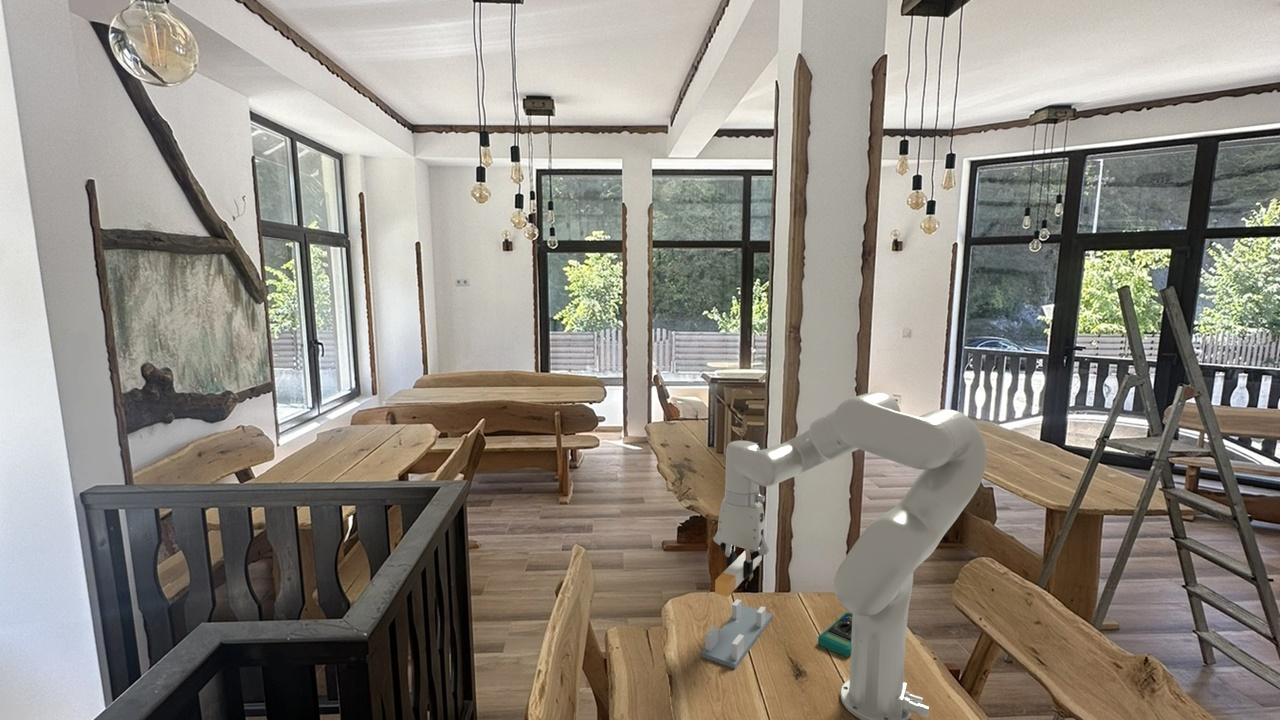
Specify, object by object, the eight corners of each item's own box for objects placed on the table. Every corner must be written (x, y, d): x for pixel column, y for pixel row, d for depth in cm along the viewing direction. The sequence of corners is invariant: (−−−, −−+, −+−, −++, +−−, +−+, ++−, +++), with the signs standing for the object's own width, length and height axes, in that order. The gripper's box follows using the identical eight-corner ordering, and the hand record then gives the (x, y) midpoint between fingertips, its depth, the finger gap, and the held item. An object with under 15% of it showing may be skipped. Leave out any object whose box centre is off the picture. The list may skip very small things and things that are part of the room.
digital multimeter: (875, 632, 137) (876, 620, 137) (848, 660, 126) (848, 647, 126) (845, 620, 142) (846, 608, 142) (816, 646, 131) (817, 634, 131)
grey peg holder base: (772, 617, 142) (772, 600, 142) (735, 669, 123) (735, 649, 122) (741, 608, 146) (742, 591, 146) (701, 656, 127) (701, 637, 126)
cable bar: (761, 559, 141) (762, 548, 140) (727, 597, 124) (728, 583, 124) (749, 556, 142) (750, 545, 142) (715, 593, 125) (715, 580, 125)
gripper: (782, 498, 130) (779, 576, 132) (715, 485, 138) (713, 558, 140) (771, 509, 123) (768, 591, 125) (701, 494, 132) (700, 571, 134)
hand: (739, 573), depth 133 cm, fingers closed on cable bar, 3 cm apart
